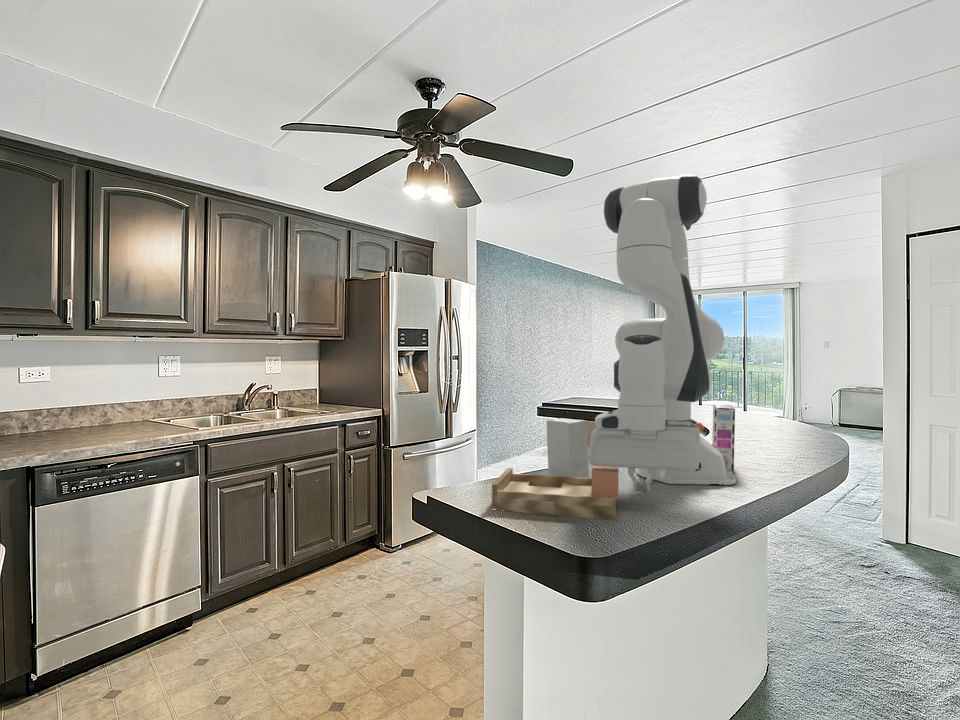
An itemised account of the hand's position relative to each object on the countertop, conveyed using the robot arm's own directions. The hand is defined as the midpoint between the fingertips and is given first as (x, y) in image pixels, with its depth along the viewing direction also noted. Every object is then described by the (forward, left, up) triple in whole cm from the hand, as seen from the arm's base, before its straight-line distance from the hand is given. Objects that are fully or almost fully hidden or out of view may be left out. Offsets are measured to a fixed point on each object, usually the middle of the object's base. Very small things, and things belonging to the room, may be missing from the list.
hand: (641, 490), depth 100 cm
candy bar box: (-22, -44, -4) cm, 49 cm away
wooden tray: (+16, 0, -4) cm, 16 cm away
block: (+7, 0, -1) cm, 7 cm away
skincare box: (+16, -18, -4) cm, 24 cm away
